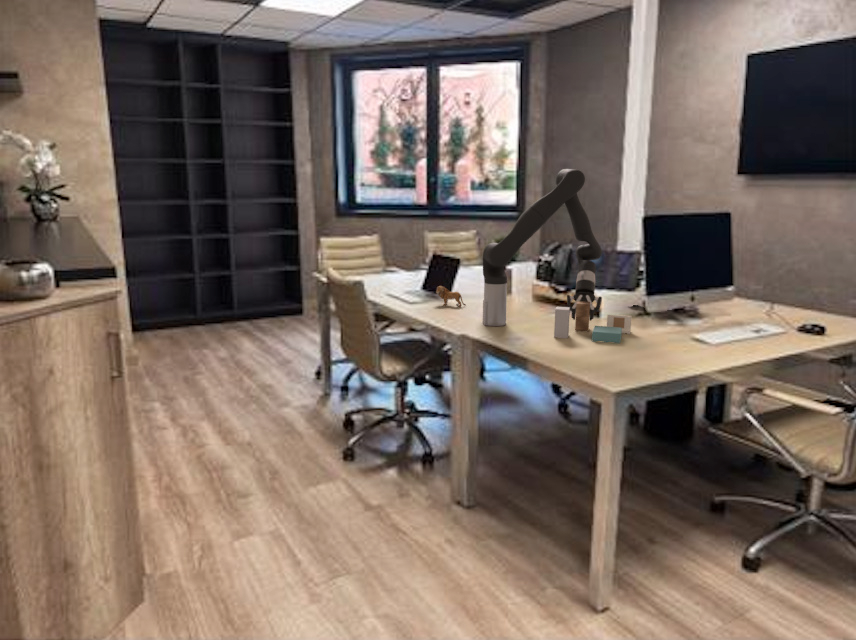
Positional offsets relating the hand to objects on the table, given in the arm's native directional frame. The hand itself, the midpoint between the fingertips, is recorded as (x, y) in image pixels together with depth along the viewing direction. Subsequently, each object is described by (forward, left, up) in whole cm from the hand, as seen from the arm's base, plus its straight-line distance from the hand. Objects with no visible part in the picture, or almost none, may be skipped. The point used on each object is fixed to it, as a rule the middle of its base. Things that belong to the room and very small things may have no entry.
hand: (582, 318), depth 253 cm
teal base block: (+6, -13, -5) cm, 15 cm away
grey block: (-10, -8, -5) cm, 14 cm away
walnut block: (+1, +2, -5) cm, 5 cm away
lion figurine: (-47, +53, -5) cm, 71 cm away
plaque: (+14, -3, -5) cm, 15 cm away
